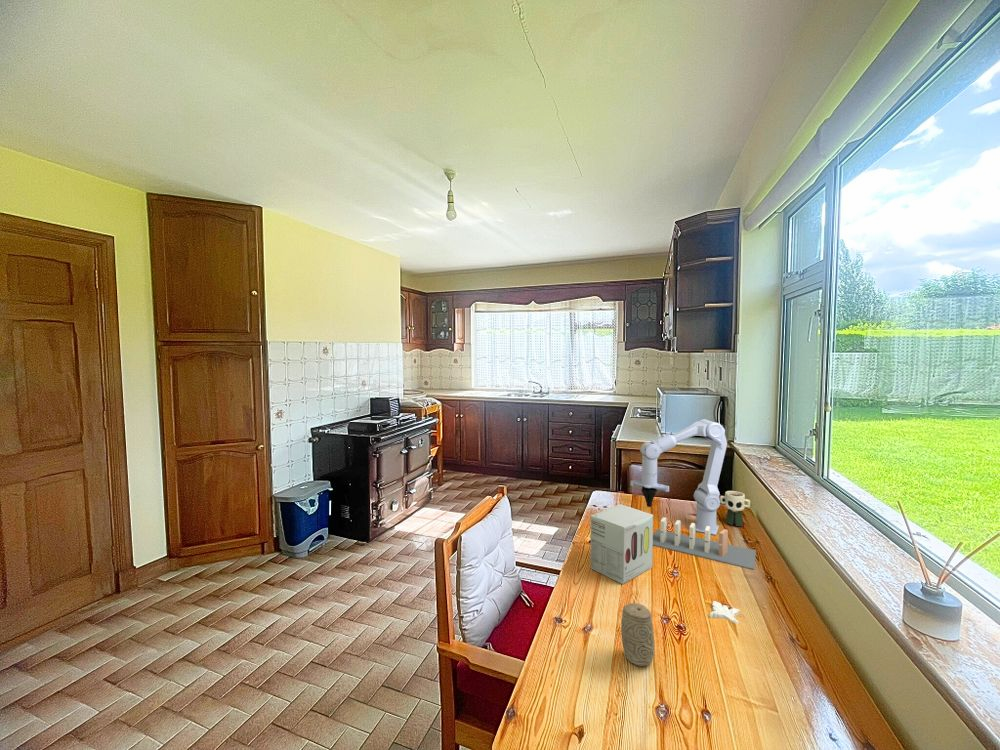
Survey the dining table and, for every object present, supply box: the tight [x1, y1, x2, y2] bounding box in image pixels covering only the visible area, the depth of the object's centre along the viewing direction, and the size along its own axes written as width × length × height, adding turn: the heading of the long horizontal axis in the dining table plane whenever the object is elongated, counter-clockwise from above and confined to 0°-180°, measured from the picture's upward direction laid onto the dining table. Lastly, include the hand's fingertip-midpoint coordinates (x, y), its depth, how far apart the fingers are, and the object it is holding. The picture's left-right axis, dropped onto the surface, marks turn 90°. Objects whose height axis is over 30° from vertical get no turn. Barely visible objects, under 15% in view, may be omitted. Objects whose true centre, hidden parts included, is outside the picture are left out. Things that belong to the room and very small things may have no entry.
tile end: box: [718, 528, 729, 556], centre depth 145 cm, size 5×1×8 cm, turn 131°
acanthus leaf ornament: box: [709, 600, 741, 625], centre depth 112 cm, size 8×7×2 cm
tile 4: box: [704, 526, 711, 553], centre depth 148 cm, size 5×1×8 cm, turn 146°
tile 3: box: [688, 522, 696, 549], centre depth 151 cm, size 5×1×8 cm, turn 146°
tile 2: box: [674, 519, 682, 546], centre depth 154 cm, size 5×1×8 cm, turn 146°
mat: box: [653, 528, 757, 571], centre depth 151 cm, size 15×34×1 cm, turn 56°
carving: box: [620, 602, 655, 667], centre depth 96 cm, size 6×8×12 cm
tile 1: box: [659, 516, 668, 543], centre depth 156 cm, size 5×1×8 cm, turn 146°
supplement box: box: [590, 503, 654, 585], centre depth 137 cm, size 17×13×18 cm
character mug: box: [719, 490, 751, 527], centre depth 171 cm, size 11×7×13 cm, turn 60°
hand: (649, 506), depth 166 cm, fingers closed
